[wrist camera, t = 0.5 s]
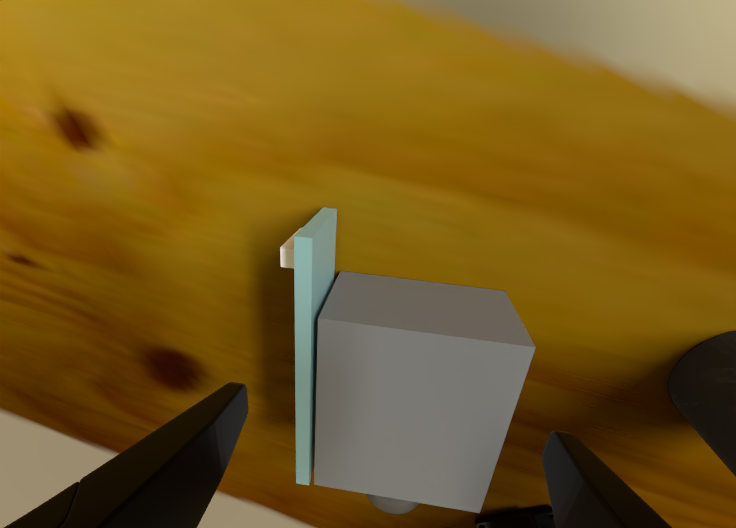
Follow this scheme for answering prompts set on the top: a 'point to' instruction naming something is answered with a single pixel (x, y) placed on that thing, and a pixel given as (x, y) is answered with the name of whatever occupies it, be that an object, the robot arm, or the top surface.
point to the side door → (309, 322)
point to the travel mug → (709, 393)
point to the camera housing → (415, 389)
